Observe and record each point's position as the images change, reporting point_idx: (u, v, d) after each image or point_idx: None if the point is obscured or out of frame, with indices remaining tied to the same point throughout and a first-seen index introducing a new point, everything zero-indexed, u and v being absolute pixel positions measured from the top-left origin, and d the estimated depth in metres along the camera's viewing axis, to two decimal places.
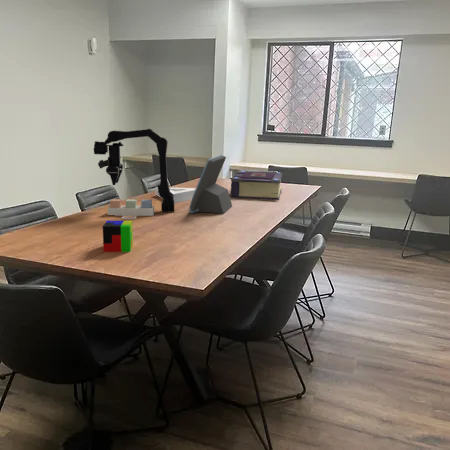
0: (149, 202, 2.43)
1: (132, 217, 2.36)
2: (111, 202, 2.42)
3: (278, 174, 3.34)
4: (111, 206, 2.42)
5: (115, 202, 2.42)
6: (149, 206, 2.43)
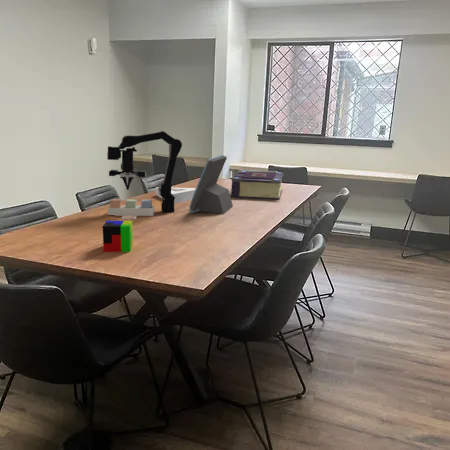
0: (149, 202, 2.43)
1: (132, 217, 2.36)
2: (111, 202, 2.42)
3: (279, 174, 3.33)
4: (111, 206, 2.42)
5: (115, 202, 2.42)
6: (149, 206, 2.43)
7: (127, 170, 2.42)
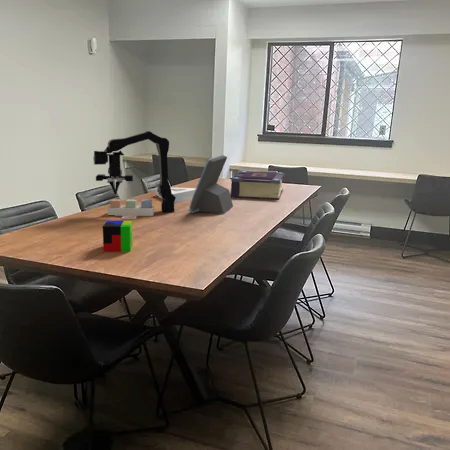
0: (149, 202, 2.43)
1: (132, 217, 2.36)
2: (111, 202, 2.42)
3: (279, 174, 3.33)
4: (111, 206, 2.42)
5: (115, 202, 2.42)
6: (149, 206, 2.43)
7: (114, 174, 2.38)
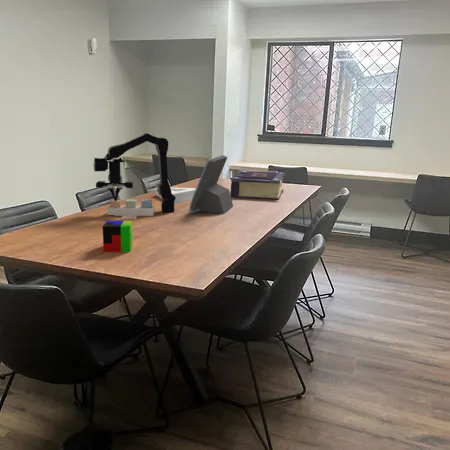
0: (149, 202, 2.43)
1: (132, 217, 2.36)
2: (111, 203, 2.42)
3: (280, 174, 3.33)
4: (111, 207, 2.42)
5: (115, 203, 2.42)
6: (149, 206, 2.43)
7: (114, 181, 2.39)
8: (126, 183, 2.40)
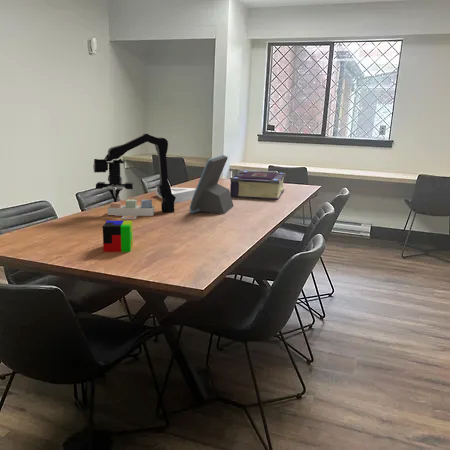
0: (149, 202, 2.43)
1: (132, 217, 2.36)
2: (111, 205, 2.42)
3: (280, 174, 3.32)
4: None
5: (115, 205, 2.42)
6: (149, 206, 2.43)
7: (114, 182, 2.39)
8: (126, 184, 2.40)
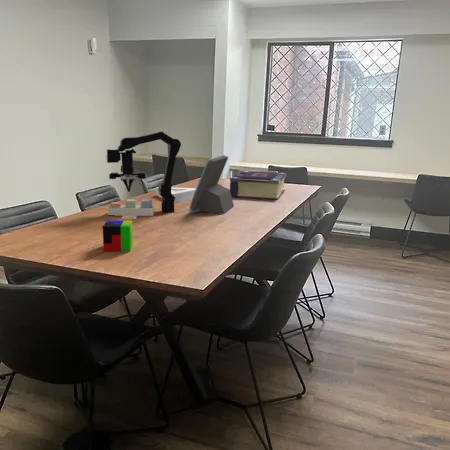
0: (149, 202, 2.43)
1: (132, 217, 2.36)
2: (111, 205, 2.42)
3: (281, 174, 3.32)
4: None
5: (115, 205, 2.42)
6: (149, 206, 2.43)
7: (127, 172, 2.42)
8: (139, 174, 2.43)
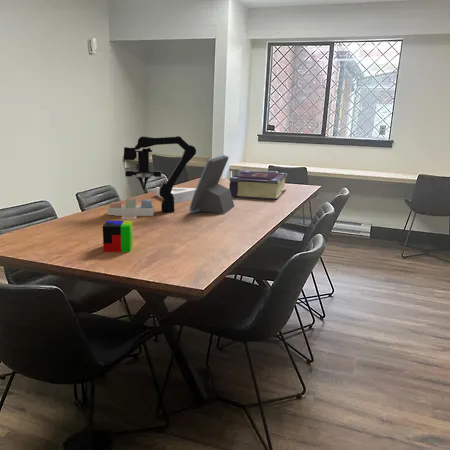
0: (149, 202, 2.43)
1: (132, 217, 2.36)
2: (111, 205, 2.42)
3: (281, 175, 3.31)
4: None
5: (115, 205, 2.42)
6: (149, 206, 2.43)
7: (143, 170, 2.47)
8: (154, 172, 2.47)
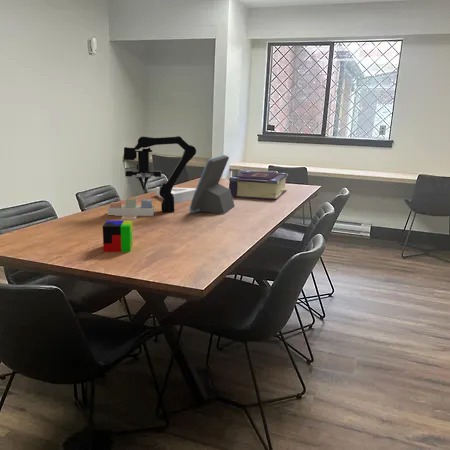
0: (149, 202, 2.43)
1: (132, 217, 2.36)
2: (111, 205, 2.42)
3: (282, 175, 3.31)
4: None
5: (115, 205, 2.42)
6: (149, 206, 2.43)
7: (143, 170, 2.47)
8: (154, 172, 2.47)
